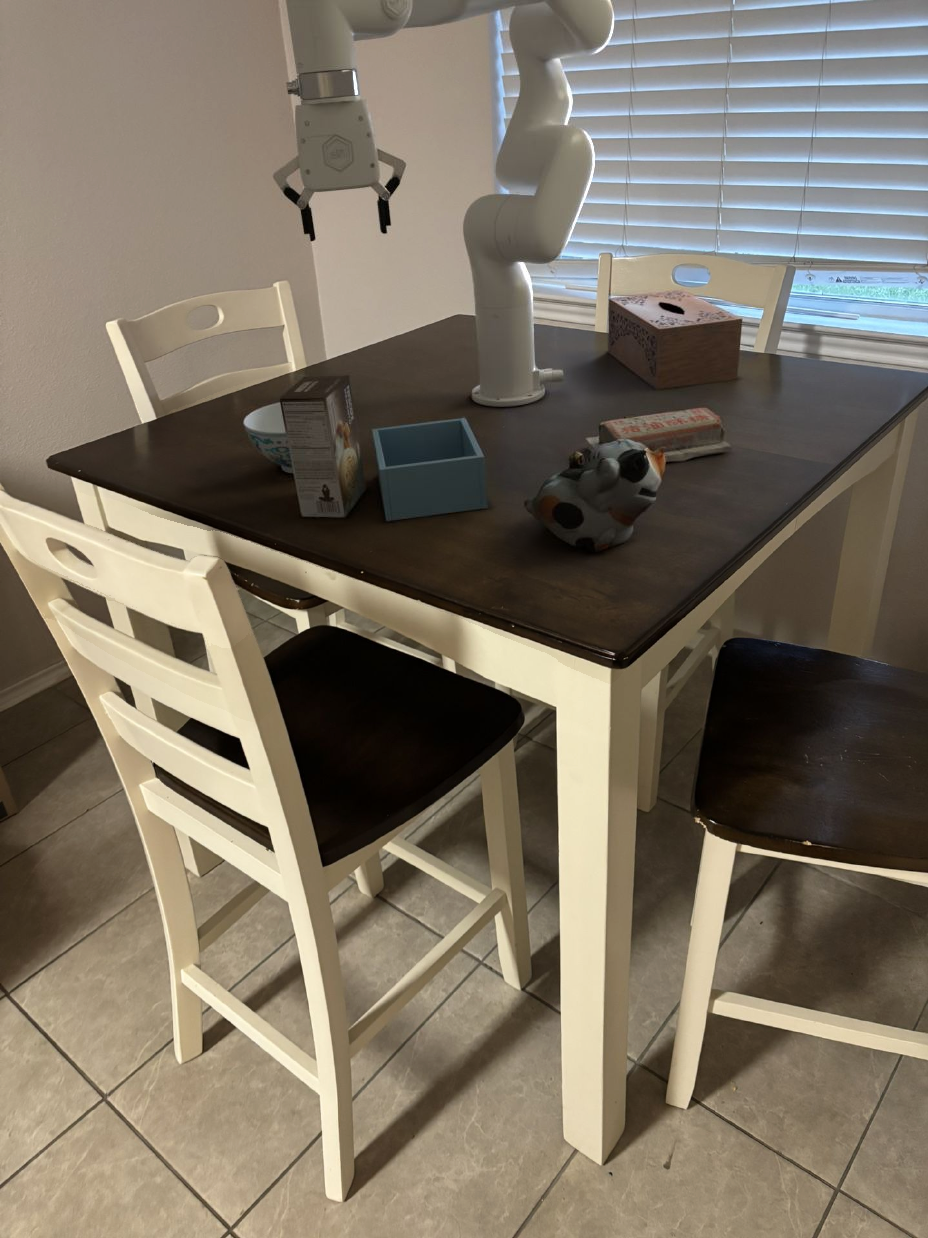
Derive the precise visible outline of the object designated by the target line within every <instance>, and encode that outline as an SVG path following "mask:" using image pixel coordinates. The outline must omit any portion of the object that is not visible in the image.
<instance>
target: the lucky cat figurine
mask: <svg viewBox="0 0 928 1238" xmlns="http://www.w3.org/2000/svg"><path fill="white" fill-rule="evenodd" d="M665 452H666V447H660V448H658V449H657V450H655V451H654V452H652V451H651V450H649V449H648V448H647V447H646V446H645V445H643V444H642V443H639V442H634V441H632V440H628V439H618V440H617V441H613V442H610V443H605V444H602V445H600V446H599V447H597V449H595V450H593V451H592V452H591V451H590V454H589V455H588V456H587V458H586V461H585V456H584V454H583V453H581V452H579V451H575V452H574V453H572V454H571V455H570V456H569V457H568V464H569V466H568V467H567V468H565V469H563V470H562V471H559V472H555V473H553V474H551V475H550V476H549V477H548V478H546V479H545V480H544V482H543V483H542V485H541V487H540V488H539V490H538V492H537V494H536V495H535V496H534V497H530V498H528V499H526V500H524V502H523V504H524V505H523V506H524V508H525V510H526V511H527V512H528V513H529V514H530V515H531V516H533V518H535V519H536V520H537V521H538V522H540V523H541V524H542V525H543V526H545V527H546V528H547V529H548V530H549V531H550V532H551V533H552V534H553V535H555V536H556V537H558V538H559V539H561V540H563V541H564V542H565V543H567V544H569V545H571V546H573V547H577V548H578V547H581V546H586V548H587V549H588V551H589V552H590V553H591V552H594V553H599V552H601V551H604V550H606V549H609V548H612V547H614V546H617V545H620V544H623V543H625V542H627V541H629V539H630V538H631V536H632V534H633V533H634V524H635V521H636V520H637V518H638V517H639V516H641V514H642V513H644V512H647V511H648V509H649V508H650V507H651V506H652V505H653V504H654V503H655V502H656V501H657V491H658V489H659V487H660V485H661V483H662V477H663V475H664V473H665V470H666V462H665V456H664V453H665Z"/></svg>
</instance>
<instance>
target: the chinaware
mask: <svg viewBox="0 0 928 1238" xmlns="http://www.w3.org/2000/svg"><path fill="white" fill-rule="evenodd" d="M242 425H243V427H244V430H245V432H246V434H247V436H248V439H250V441H251V443H252V445H253V446H254V447H255V449H257V451H259V453H260V454H261V455H263V456H264V457H265V458H267V459H268V460H270V461H271V462H273V463H275V464H277V465H279V466H281V469H282V471H284V472H285V473H289V474H294V473H293V468H292V463H291V458H290V452H289V447H288V442H287V437H286V431H285V426H284V421H283V416H282V410H281V405H280V401H279V402H275V403H272V404H268V405H265V406H262V407H260V408H257V409H255V410H253V411H252V412H249V414H247V415H245V417H244V419H243V421H242Z"/></svg>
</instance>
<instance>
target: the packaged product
mask: <svg viewBox="0 0 928 1238" xmlns="http://www.w3.org/2000/svg"><path fill="white" fill-rule="evenodd" d="M725 434H726V430H725V428H724V427H723V423H722V420H721V418H720V416H719V415H717V414H716V413H714V412H713V411H712V410H710V409H708V408H707V407H697V408H690V409H689V408H688V409H683V410H682V409H681V410H674V411H666V412H661V413H653V414H646V415H645V414H644V415H639V416H633V417H625V418H619V419H618V418H617V419H612V420H606V421H603V422H602V421H601V422H600V423H599V424H598V435H597V436H591V437H585V443H586V449H587V450H588V451H590V453H591V452H592V451H593V450H595V449H597V447H599V446H600V445H602V444H605V443H610V442H613V441H617V440H618V439H628V440H632V441H634V442H639V443H642V444H643V445H645V446H646V447H647V448H648V449H649V450H651V451H652V452H654V451H655V450H657V449H658V448H660V447H666V452H665V453H664V456H665V463H667V462H685V461H688V460H690V459H692V458H698V457H705V456H709V455H710V456H711V455H716V454H717V455H718V454H722V453H728V452H729V453H730V451H731V450H732V445H731V444H730V443H728V442H727V441H726V440H724V439H725Z"/></svg>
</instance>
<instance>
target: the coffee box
mask: <svg viewBox="0 0 928 1238" xmlns="http://www.w3.org/2000/svg"><path fill="white" fill-rule="evenodd" d="M350 379H351V378H350V375H347V374H346V375H318V376H317V375H315V376H313V375H312V376H304V377H302V378H301V379H300V380H299V381H298V382H296V383H295V384H294V385H293V386H292V387H291V388H290V389H288V390H287V391H286V392H285V393H284V394H283V395H281V396H280V397H279V398H278V400H279V402H280V405H281V410H282V416H283V421H284V426H285V431H286V437H287V442H288V447H289V452H290V458H291V463H292V468H293V473H292V474H293V478H294V483H295V484H294V485H295V488H296V495H297V498H298V499H297V500H298V504H299V510H300V514H301V517H303V518H346V517H347V516H348V515H349V514H350V512H351V510H352V509H353V508H354V507H355V505H356V504H357V502H359V500H360V499H361V497H362V495H363V494H364V493H365V491H366V490H367V487H366V481H365V475H364V466H363V462H362V453H361V447H360V442H359V433H358V428H357V427H358V426H357V420H356V412H355V405H354V400H353V393H352V387H351V380H350Z"/></svg>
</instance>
